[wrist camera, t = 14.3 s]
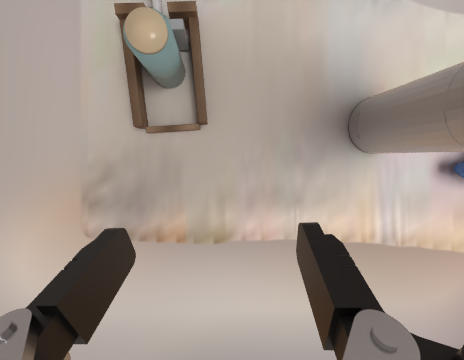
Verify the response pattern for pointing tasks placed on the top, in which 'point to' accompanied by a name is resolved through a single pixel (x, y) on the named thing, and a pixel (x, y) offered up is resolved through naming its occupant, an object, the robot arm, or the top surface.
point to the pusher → (175, 28)
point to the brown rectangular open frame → (133, 67)
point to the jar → (154, 45)
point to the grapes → (459, 169)
